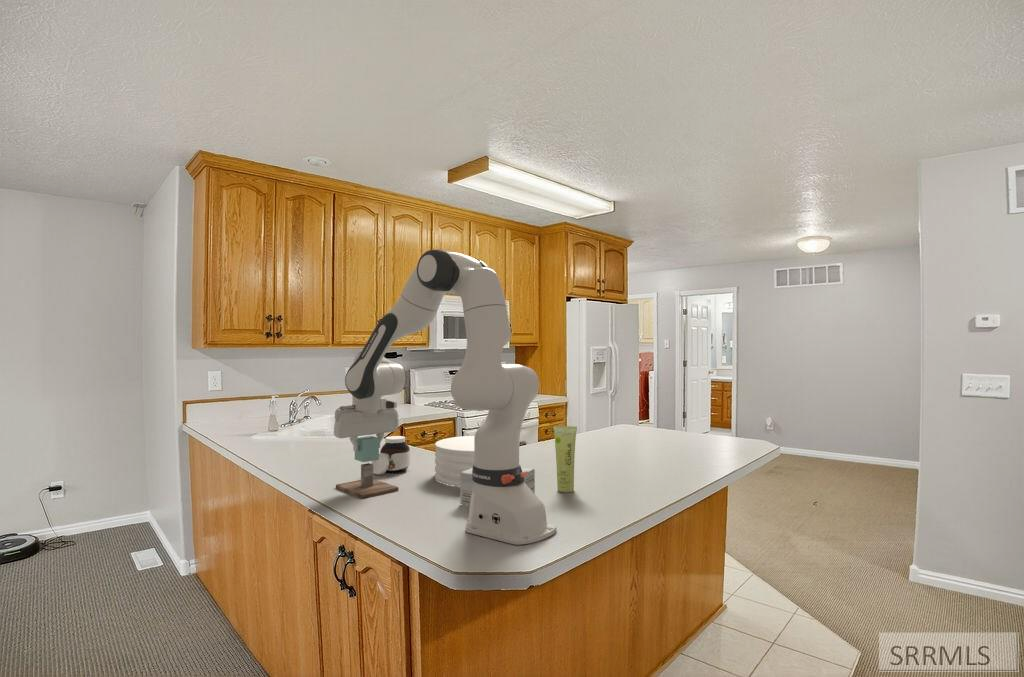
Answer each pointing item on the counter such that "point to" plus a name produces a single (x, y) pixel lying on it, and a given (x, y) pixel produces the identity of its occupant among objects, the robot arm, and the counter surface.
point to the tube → (565, 456)
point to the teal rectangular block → (367, 449)
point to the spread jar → (392, 456)
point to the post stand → (366, 484)
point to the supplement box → (468, 484)
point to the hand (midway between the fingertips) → (367, 449)
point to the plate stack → (453, 458)
